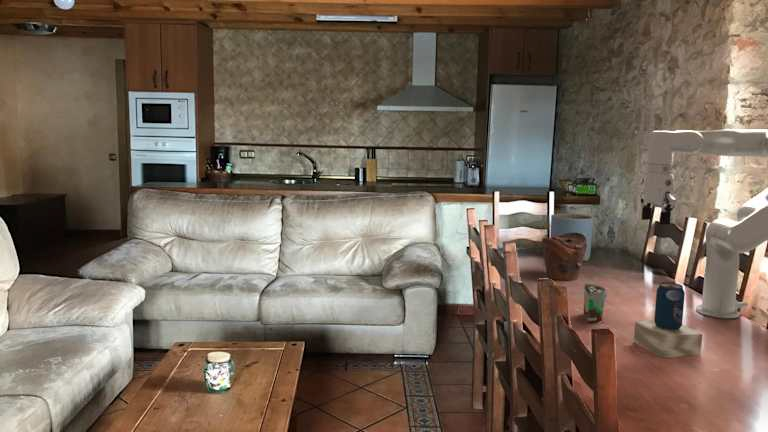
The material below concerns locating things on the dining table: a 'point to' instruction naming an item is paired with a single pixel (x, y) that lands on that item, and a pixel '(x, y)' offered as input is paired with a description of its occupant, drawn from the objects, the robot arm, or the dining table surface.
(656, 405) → the dining table surface
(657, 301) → the soda can
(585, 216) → the planter
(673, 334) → the ash block
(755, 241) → the robot arm
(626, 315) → the dining table surface
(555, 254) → the brown tapered round vessel
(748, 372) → the dining table surface
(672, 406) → the dining table surface
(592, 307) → the food container
